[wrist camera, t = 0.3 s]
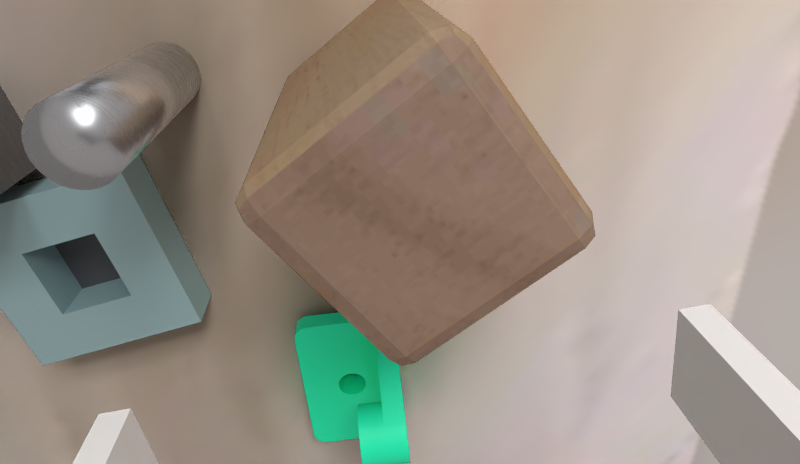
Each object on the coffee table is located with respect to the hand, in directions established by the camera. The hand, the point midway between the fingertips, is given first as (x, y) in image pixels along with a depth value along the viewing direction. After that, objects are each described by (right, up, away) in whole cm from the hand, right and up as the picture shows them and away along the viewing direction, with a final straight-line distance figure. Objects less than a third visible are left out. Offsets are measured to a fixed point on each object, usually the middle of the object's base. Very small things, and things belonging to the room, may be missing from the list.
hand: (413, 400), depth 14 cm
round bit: (-15, +14, +22) cm, 30 cm away
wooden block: (-1, +13, +24) cm, 27 cm away
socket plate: (-22, +3, +27) cm, 35 cm away
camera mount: (-4, -7, +34) cm, 35 cm away
